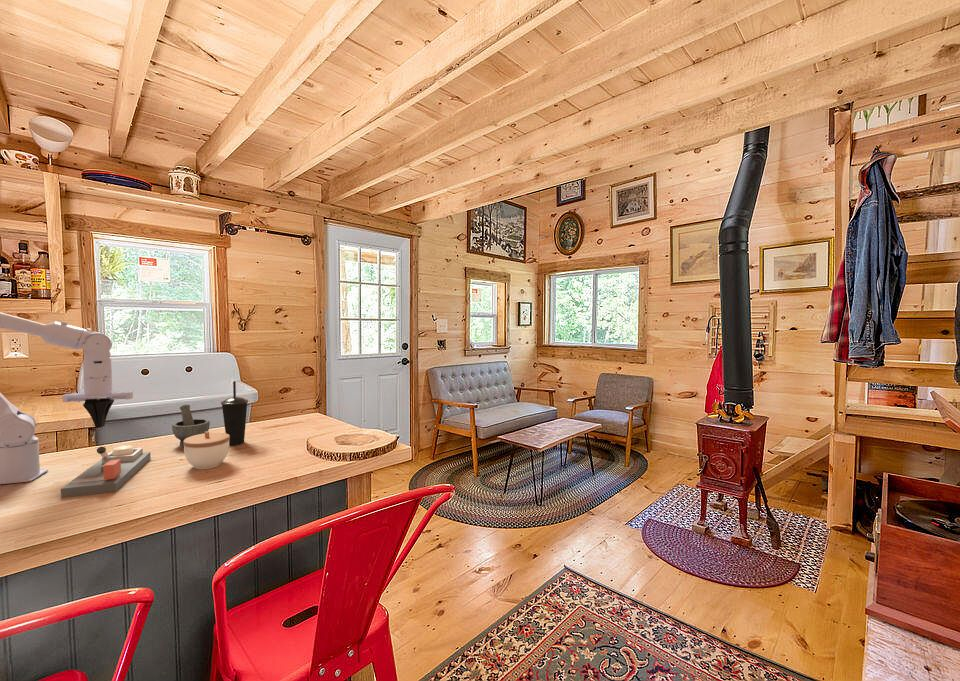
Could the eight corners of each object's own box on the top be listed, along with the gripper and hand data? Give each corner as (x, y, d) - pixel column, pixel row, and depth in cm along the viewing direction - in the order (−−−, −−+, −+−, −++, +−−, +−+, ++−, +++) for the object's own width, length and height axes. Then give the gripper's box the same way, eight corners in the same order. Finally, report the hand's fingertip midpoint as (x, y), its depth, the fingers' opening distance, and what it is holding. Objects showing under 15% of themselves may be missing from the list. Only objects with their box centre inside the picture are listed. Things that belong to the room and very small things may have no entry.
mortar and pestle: (214, 443, 139) (213, 406, 138) (180, 450, 131) (179, 411, 130) (200, 437, 145) (199, 401, 145) (167, 443, 138) (166, 405, 137)
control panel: (61, 497, 98) (60, 482, 98) (106, 462, 120) (106, 450, 120) (116, 491, 101) (115, 476, 101) (150, 458, 124) (150, 446, 123)
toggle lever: (102, 462, 109) (93, 450, 108) (105, 460, 111) (97, 447, 110) (110, 459, 110) (101, 446, 109) (113, 457, 111) (104, 444, 111)
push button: (109, 460, 115) (109, 451, 115) (116, 455, 119) (116, 446, 119) (130, 458, 117) (129, 449, 117) (136, 453, 121) (135, 444, 121)
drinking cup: (225, 440, 142) (223, 379, 141) (251, 439, 144) (250, 379, 143) (218, 447, 135) (217, 383, 133) (246, 445, 137) (245, 382, 136)
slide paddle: (103, 479, 102) (103, 465, 102) (110, 473, 106) (110, 460, 106) (114, 478, 103) (113, 464, 103) (121, 472, 107) (120, 459, 106)
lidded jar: (237, 464, 121) (237, 430, 120) (195, 475, 112) (194, 439, 111) (218, 456, 127) (218, 424, 126) (176, 466, 118) (176, 432, 117)
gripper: (55, 380, 111) (57, 432, 112) (125, 378, 116) (127, 428, 117) (69, 376, 117) (71, 425, 118) (134, 374, 123) (136, 421, 124)
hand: (99, 426), depth 118 cm, fingers closed
